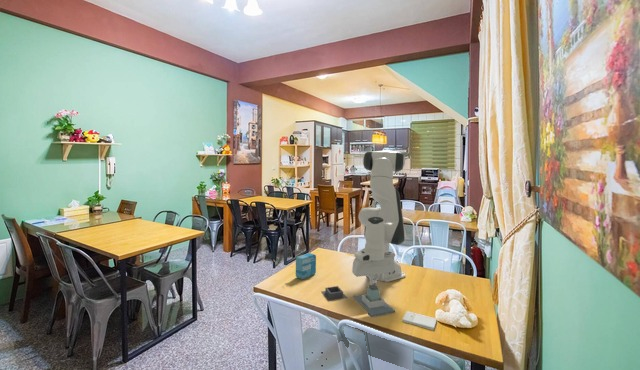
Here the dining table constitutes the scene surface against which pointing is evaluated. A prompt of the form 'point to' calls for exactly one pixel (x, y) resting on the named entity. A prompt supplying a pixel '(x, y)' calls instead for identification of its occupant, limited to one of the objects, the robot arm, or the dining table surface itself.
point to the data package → (305, 265)
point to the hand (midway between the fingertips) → (373, 283)
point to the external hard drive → (419, 320)
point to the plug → (372, 293)
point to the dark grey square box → (333, 293)
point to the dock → (374, 306)
